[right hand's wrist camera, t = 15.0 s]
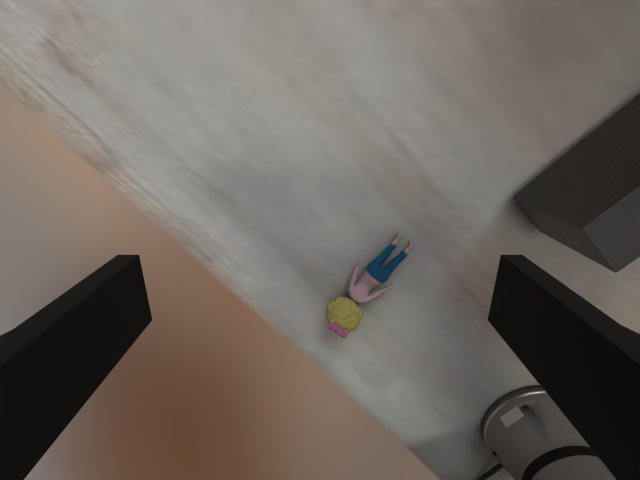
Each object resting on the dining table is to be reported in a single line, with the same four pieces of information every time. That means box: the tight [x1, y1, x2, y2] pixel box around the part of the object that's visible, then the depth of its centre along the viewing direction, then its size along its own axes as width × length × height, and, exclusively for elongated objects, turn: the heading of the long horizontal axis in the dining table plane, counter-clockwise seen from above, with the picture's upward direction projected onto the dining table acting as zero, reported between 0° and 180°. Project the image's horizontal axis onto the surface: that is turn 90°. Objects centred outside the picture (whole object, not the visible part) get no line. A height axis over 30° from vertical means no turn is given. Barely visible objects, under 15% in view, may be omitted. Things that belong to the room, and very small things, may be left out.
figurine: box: [327, 232, 414, 337], centre depth 44 cm, size 6×4×15 cm
